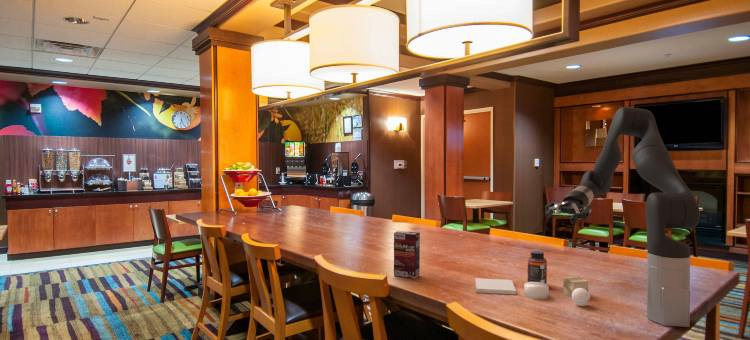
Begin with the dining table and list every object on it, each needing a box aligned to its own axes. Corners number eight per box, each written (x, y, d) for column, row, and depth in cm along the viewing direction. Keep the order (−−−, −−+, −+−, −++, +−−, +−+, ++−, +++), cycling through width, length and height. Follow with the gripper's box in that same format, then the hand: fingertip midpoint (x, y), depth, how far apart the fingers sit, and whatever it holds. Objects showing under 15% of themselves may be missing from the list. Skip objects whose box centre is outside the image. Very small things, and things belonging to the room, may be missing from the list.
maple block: (588, 297, 131) (588, 281, 131) (572, 298, 131) (573, 281, 131) (577, 292, 136) (578, 276, 136) (563, 293, 136) (563, 277, 135)
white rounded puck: (550, 300, 129) (550, 288, 129) (526, 299, 130) (526, 287, 130) (546, 293, 136) (546, 282, 136) (522, 292, 137) (522, 281, 137)
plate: (516, 294, 134) (516, 290, 134) (476, 292, 136) (476, 288, 136) (511, 283, 146) (511, 280, 146) (475, 281, 148) (475, 278, 148)
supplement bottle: (548, 288, 140) (548, 254, 140) (528, 287, 141) (529, 253, 141) (544, 283, 146) (545, 250, 145) (526, 282, 147) (526, 249, 147)
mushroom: (584, 309, 120) (584, 292, 120) (568, 305, 124) (568, 287, 124) (593, 306, 123) (593, 288, 123) (577, 301, 127) (577, 284, 127)
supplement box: (393, 276, 156) (393, 232, 155) (398, 273, 160) (398, 230, 160) (415, 279, 152) (415, 234, 151) (420, 275, 156) (420, 232, 156)
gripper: (558, 187, 161) (537, 205, 151) (598, 192, 150) (579, 212, 140) (559, 205, 163) (539, 224, 153) (599, 212, 153) (580, 232, 143)
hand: (558, 218), depth 147 cm, fingers open, 8 cm apart
